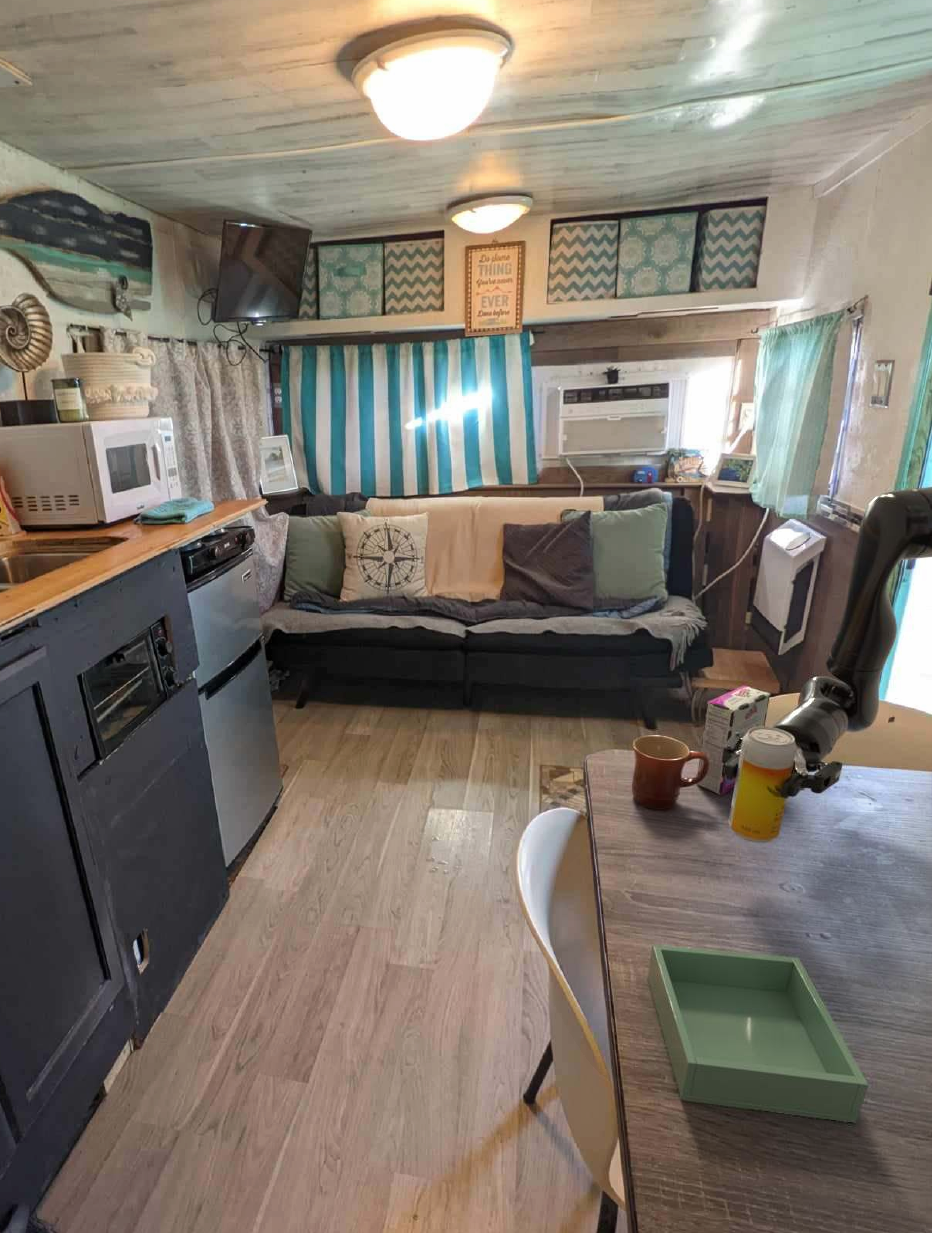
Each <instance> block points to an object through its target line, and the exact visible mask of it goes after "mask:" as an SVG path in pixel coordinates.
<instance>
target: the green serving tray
mask: <svg viewBox="0 0 932 1233" xmlns="http://www.w3.org/2000/svg"><path fill="white" fill-rule="evenodd" d="M650 952H651V953H650V958H649V967H648V973H647V982H648V985H649V989H650V993H651V996H652V999H653V1003H654V1008H655V1011H656V1014H657V1017H658V1022H659V1025H660V1028H661V1032H662V1036H663V1039H664V1043H665V1047H666V1051H667V1054H668V1059H669V1061H670V1065H671V1069H672V1072H673V1076H674V1080H675V1084H676V1088H677V1091H678V1094H679V1099H680V1101H683V1102H691V1103H698V1104H707V1105H712V1104H713V1105H714V1106H720V1105H721V1106H722V1107H727V1106H728V1108H734V1107H735V1108H736V1109H741V1110H749V1109H750V1110H751V1109H754V1110H753V1111H757V1110H762V1111H761V1112H764V1111H770V1112H769V1113H772V1112H778V1113H777V1114H779V1112H781V1113H784V1114H783V1115H786V1114H785V1113H788V1114H790V1115H789V1116H792V1115H791V1114H794V1115H800V1116H799V1117H802V1116H803V1115H804V1116H808V1117H807V1118H809V1117H813V1118H812V1119H816V1118H819V1119H818V1120H824V1119H830V1120H829V1121H831V1120H837V1121H836V1122H839V1121H840V1122H839V1123H846V1122H853V1123H852V1124H854V1123H856V1124H857V1121H858V1118H859V1116H860V1113H861V1110H862V1106H863V1104H864V1100H865V1097H866V1094H867V1091H868V1088H869V1083H868V1082H867V1080H866V1077H865V1076H864V1074H863V1073H862V1070H861V1069H860V1066H859V1065H858V1063H857V1061H856V1060H855V1058H854V1056H853V1054H852V1052H851V1051H850V1048H849V1047H848V1045H847V1043H846V1042H845V1040H844V1038H843V1036H842V1034H841V1033H840V1032H841V1031H839V1029H838V1027H837V1025H836V1023H835V1021H834V1020H833V1018H832V1016H831V1014H830V1012H829V1010H828V1009H827V1006H826V1005H825V1003H824V1001H823V1000H822V998H821V995H820V994H819V993H818V990H817V989H816V987H815V984H814V983H813V981H812V979H811V978H810V976H809V974H808V972H807V971H806V969H805V967H804V965H803V962H802V961H801V959H800V958H799V957H794V956H793V957H790V956H780V955H779V956H778V955H769V954H759V953H749V952H748V953H747V952H739V951H727V950H718V949H706V948H697V947H687V946H686V947H685V946H674V945H667V944H666V945H665V944H652V945H651V951H650ZM713 1105H712V1106H713ZM750 1110H749V1111H750ZM751 1111H752V1110H751ZM794 1115H793V1116H794ZM814 1117H815V1118H814ZM820 1118H821V1119H820ZM841 1121H843V1122H841Z"/></svg>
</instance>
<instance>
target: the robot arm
mask: <svg viewBox="0 0 932 1233" xmlns="http://www.w3.org/2000/svg"><path fill="white" fill-rule="evenodd" d="M925 558H932V486H930V487H929V486H928V487H920V488H919V487H918V488H909V489H908V488H907V489H898V490H894V491H893V490H892V491H886V492H883V493H882V494H879V495H877V496H876V497H875V498H873V500H871V502H870V503H869V504H868V506H867V508H866V509H865V511H864V514H863V516H862V518H861V521H860V525H859V528H858V533H857V537H856V544H855V549H854V553H853V560H852V566H851V571H850V576H849V583H848V591H847V597H846V603H845V606H844V612H843V615H842V619H841V622H840V625H839V628H838V630H837V632H836V635H835V637H834V640H833V642H832V645H831V648H830V651H829V652H828V655H827V658H826V663H825V665H826V670H827V671H828V672H829V674H831V675H832V676H833V677H835V678H836V679H835V678H833V677H830V676H825V675H824V676H823V675H821V676H815V677H812V678H809V680H807V681H806V682H805V684H803V686H802V688H801V690H800V693H799V695H798V699H797V707H795V708H794V709H793V710H791V711H790V712H788V713H785V715H783V716H782V717H781V718H780V719H779V720H777V721H776V723H774V724H773V725H772V726H771V727H773V728H778V729H781V730H784V731H786V732H788V733H790V734H791V735H793V737H794V738H795V744H796V746H797V750H796V755H795V760H794V764H793V769H792V774H791V776H790V777H789V778H788V779H787V780H786V781H785V782H784V783H783V786H782V791H781V797H782V798H785V799H786V800H788V798H789V797H790V798H795V797H797V795H799V793H800V792H801V791H805V789H810V791H811V793H814V794H818V795H820V794H823V793H824V792H825V791H826V790H828V789H830V788H831V787H832V786H834V785H835V784H836V783H838V782H839V781H840V778H841V774H842V769H843V762H840V761H835V760H833V761H831V762H829V763H828V762H825V761H824V762H823V760H824V759H825V758H826V757H827V755H830V754H831V752H832V751H833V749H834V747H835V746H836V744H837V742H838V741H839V740H840V739H841V738H842V737H843V736H844V734H845V733H846V732H848V733H853V734H855V733H856V734H857V733H862V732H863V731H866V730H868V729H869V728H870V727H871V726H872V725H873V724H874V723H875V722H876V719H877V716H878V714H879V708H880V707H879V706H880V682H881V681H880V680H881V675H882V671H883V669H884V667H885V665H886V663H887V661H888V658H889V656H890V654H891V652H892V649H893V647H894V644H895V641H896V639H897V633H898V624H897V618H896V615H895V612H894V609H893V606H892V604H891V601H890V598H889V591H888V586H889V581H890V578H891V575H892V574H893V573H894V570H895V568H896V566H897V565H898V564H899V562H900V561H906V560H914V559H915V560H916V559H925ZM742 741H743V738H742V734H741V733H733V734H732V736H731V737H730V738H729V740H728V741H727V743H726V744H725V745H724V749H723V755H722V763H724V764H725V769H724V774H725V775H726V778H727V779H729V780H733V779H734V778H735V777H736V776H737V770H738V764H739V758H740V753H741V747H742ZM814 772H815V773H814ZM809 773H813V774H809Z"/></svg>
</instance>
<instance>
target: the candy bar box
mask: <svg viewBox="0 0 932 1233" xmlns="http://www.w3.org/2000/svg"><path fill="white" fill-rule="evenodd" d="M770 697H771V693H770V692H767V691H764V690H760V689H758V688H754V687H752V686H747V685H742V686H740V687H738V688H736V689H734V690H731V691H728V692H727V693H725V694H722V695H720V696H718V697H716V698H714V699H711V700H709V701H707V704H706V709H705V718H704V726H703V733H702V740H701V748H700V752H701V753H703V754H705V755H706V756H707V758H708V760H709V769H708V772H707V774H706V776H705V777H704V779H703V780H702V781H701V782H699V783H697V784H696V785H697V786H698V787H701V788H702V789H705V790H707V791H710V792H711V793H714V794H716V795H719V796H723V795H724V794H726V793H728V792H730V791H732V790H734V787H735V781H736V777H735V778H734V779H733V780H729V779H727V778H726V775H725V774H724V769H725V764H724V763H722V755H723V749H724V745H725V744H726V743H727V741H728V740H729V738H730V737H731V736H732V734H733V733H741V734H742V738H743V737H744V736H745V735H746V734H747V732H748V730H749V729H750V728H753V727H759V726H765V727H766V719H767V714H768V709H769V704H770ZM702 763H703V760H702V759H699V761H698V768H697V774H698V773H699V771H700V769H701V767H702Z"/></svg>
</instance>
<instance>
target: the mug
mask: <svg viewBox="0 0 932 1233" xmlns="http://www.w3.org/2000/svg"><path fill="white" fill-rule="evenodd" d="M632 749H633V753H634V768H633V772H632V773H633V774H632V781H631V792H632V797H633V799H634V800H635V801H636V802H637V803H638V804H640V805H641V806H644V807H646V808H649V809H652V810H653V809H654V810H666V809H669V808H672V807H674V806H675V805H676V804H677V802H678V800H679V796H680V794H681V789H682V788H689V787H692V786H695V785H697V783H699V782H701V781H702V780H703V779H704V777H705V776H706V774H707V772H708V769H709V760H708V758H707V756H706V755H705V754H703V753H701V751H693V750H691V749H690V747H689V746H688V745H687V744H685V743H684V742H683V741H680V740H678V739H676V738H673V737H668V736H664V735H654V734H653V735H652V734H651V735H643V736H639V737H637V738H635V739H634V740H633V742H632ZM695 759H696V760H697V759H698V760H700V759H702V760H703V763H702V767H701V769H700V771H699V773H698V772H697V774H696V775H694V776H692V777H686V778H685V777H682V775H683V771H684V767H685V765H686V764H687V763H688V762H690V761H692V760H695Z"/></svg>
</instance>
